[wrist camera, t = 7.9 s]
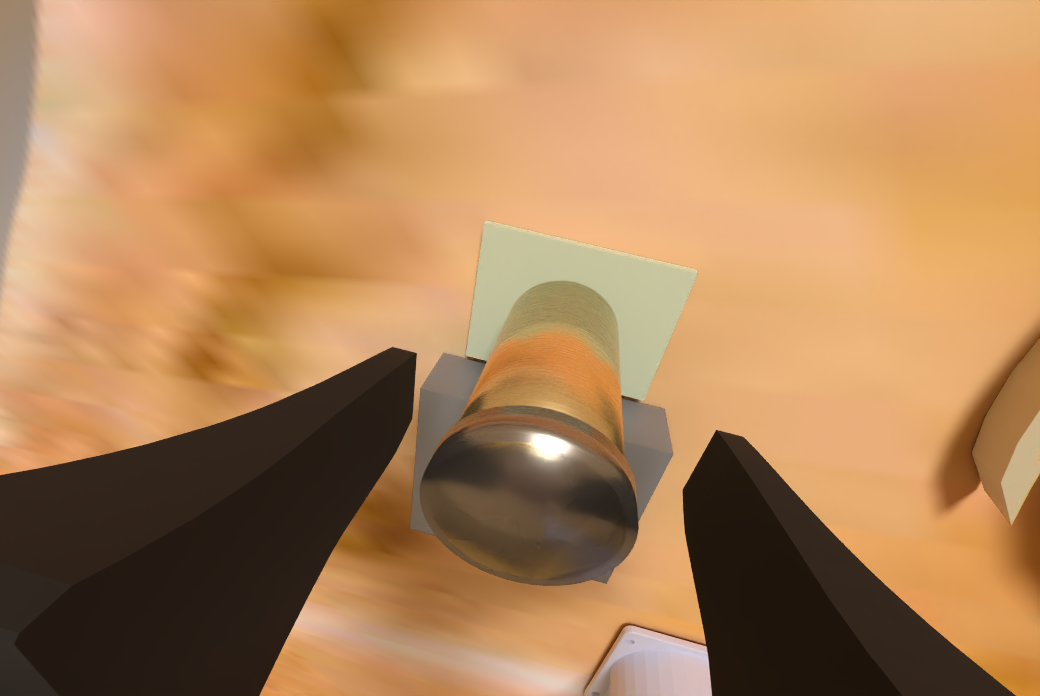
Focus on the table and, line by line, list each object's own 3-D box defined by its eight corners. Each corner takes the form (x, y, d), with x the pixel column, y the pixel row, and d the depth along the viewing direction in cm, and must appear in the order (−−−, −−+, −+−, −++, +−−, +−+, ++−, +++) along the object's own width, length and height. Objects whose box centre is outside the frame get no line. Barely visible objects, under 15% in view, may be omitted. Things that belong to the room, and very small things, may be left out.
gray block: (606, 534, 21) (606, 583, 19) (429, 486, 21) (409, 528, 19) (664, 408, 17) (673, 453, 15) (443, 352, 17) (420, 388, 15)
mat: (642, 394, 17) (643, 400, 16) (468, 350, 17) (465, 355, 17) (695, 269, 14) (698, 273, 13) (486, 220, 14) (483, 223, 14)
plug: (604, 395, 16) (602, 606, 10) (493, 368, 17) (414, 553, 10) (641, 291, 14) (673, 470, 7) (512, 261, 14) (425, 406, 8)
